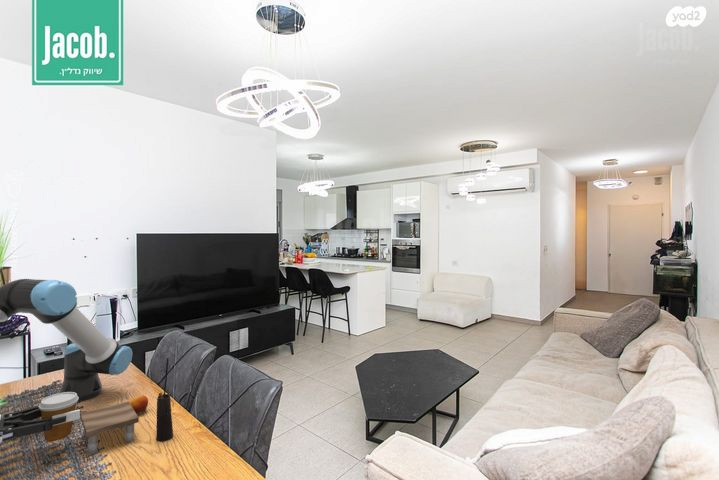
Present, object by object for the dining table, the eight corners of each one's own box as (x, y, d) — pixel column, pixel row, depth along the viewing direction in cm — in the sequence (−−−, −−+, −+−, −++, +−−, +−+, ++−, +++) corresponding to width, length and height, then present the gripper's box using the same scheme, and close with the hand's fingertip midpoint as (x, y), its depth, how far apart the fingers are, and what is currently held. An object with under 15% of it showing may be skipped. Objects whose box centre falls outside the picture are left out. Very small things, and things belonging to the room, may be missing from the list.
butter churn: (145, 434, 122) (148, 354, 122) (175, 427, 128) (178, 350, 128) (148, 447, 115) (151, 362, 115) (180, 438, 120) (183, 357, 121)
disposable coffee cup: (84, 431, 112) (85, 394, 113) (50, 447, 103) (51, 407, 104) (65, 425, 116) (66, 389, 116) (30, 440, 107) (31, 401, 107)
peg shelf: (79, 436, 120) (80, 413, 120) (127, 422, 129) (128, 401, 130) (85, 457, 108) (86, 432, 108) (137, 441, 118) (138, 417, 118)
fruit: (140, 416, 131) (132, 397, 132) (125, 425, 133) (116, 405, 134) (157, 407, 139) (148, 388, 140) (142, 415, 141) (134, 396, 142)
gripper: (-24, 432, 104) (74, 408, 120) (-31, 466, 89) (81, 433, 105) (-23, 407, 104) (74, 386, 120) (-30, 437, 89) (82, 409, 105)
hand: (78, 408), depth 113 cm, fingers closed on disposable coffee cup, 8 cm apart
